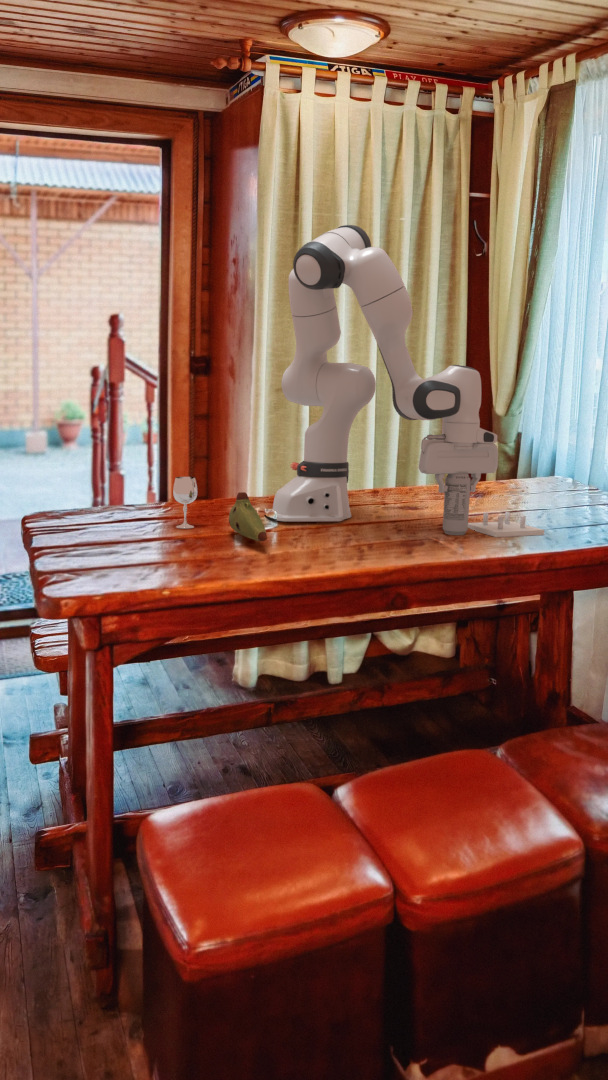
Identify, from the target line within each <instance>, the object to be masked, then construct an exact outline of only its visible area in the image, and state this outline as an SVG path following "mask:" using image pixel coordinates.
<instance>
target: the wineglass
mask: <svg viewBox="0 0 608 1080" xmlns="http://www.w3.org/2000/svg"><path fill="white" fill-rule="evenodd" d="M172 493H173V498H174V500H175V501H176V502H178V503H180V504H182V505H183V507H182V510H183V516H184V518H183V523H181V524H180V525H179V524H178V525H175V528H176V529H194V528H195V526H194V525H191V524H189V523H188V522H187V513H188V512H187V511H188V506H187V505H188V504H191V503H193V502H194V501H195V500H196V499H197V496H198V485H197V480H196V477H193V476H176V477H175V479H174V483H173V492H172Z"/></svg>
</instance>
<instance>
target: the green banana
mask: <svg viewBox="0 0 608 1080" xmlns="http://www.w3.org/2000/svg"><path fill="white" fill-rule="evenodd" d="M228 523H229V525H230V526H229V527H231V528H232V530H233V531H235V532H236V533H237V534H240V535H241V536H242V537H245V538H247V539H251V540H254V541H257V542H264V541H267V540H268V536H267V531H266V528H265V525H264V523H263V520H262V519H261V517H260V515H259V513H258V512H257V509H255V508H254V506H253V505H252V503H251V501H250V499H249V496H248V493H246V492H243V491H241V492H238V493H237V495H236V499H235V503H234V504H233V505H232V507H231V509H230V511H229V514H228Z"/></svg>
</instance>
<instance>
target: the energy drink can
mask: <svg viewBox="0 0 608 1080" xmlns="http://www.w3.org/2000/svg"><path fill="white" fill-rule="evenodd" d="M471 480H472V478H471V476H470V475H469V473H455V474H447V475H446V476H445V477H444V484H445V485H447V486H448V489H447V490H448V491H447V493H444V497H443V513H442V514H443V515H442V516H443V517H442V530H443V531H444V534H446V535H451V536H465V535H466V532H467V531H468V530H469V528H468V523H469V513H470V495H471V492H470V482H471Z"/></svg>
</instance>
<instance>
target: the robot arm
mask: <svg viewBox="0 0 608 1080" xmlns="http://www.w3.org/2000/svg"><path fill="white" fill-rule="evenodd" d="M292 267H293V268H292V269H291V271H290V272H289V274H288V285H287V286H288V297H289V298H288V299H289V300H288V301H289V308H290V312H291V317H292V318H291V319H292V324H293V329H294V336H295V353H294V357H293V360H292V362H291V364H290V365H289V366H288V367H287V368H285V371H284V372H283V375H282V377H281V391H282V393H283V396H284V397H285V398H286V400H287V401H289V402H290V403H291V402H292V403H294V404H298V405H301V406H306V407H323V410H322V414H321V416H320V417H319V419H318V420H317V421H315V422H313V423H312V424H310V425H309V426H308V427H307V428H306V430H305V431H304V443H303V444H304V447H303V450H304V452H303V459H304V460H302V461H301V462H300V463H298V462H295V461H293V462H291V464H290V469H291V470H292V471H296V476H294V477H293V478H291V480H290V481H288V482H287V483H286V484H284V485H283V486H282V487H281V488H279V489H277V491H276V492H275V494H274V499H273V504H272V510H274V511H276V512H277V520H276V521H279V522H341V521H344V520H347V519H350V518H351V517H352V512H351V508H350V502H349V493H348V483H349V475H350V474H349V473H350V470H349V469H350V468H349V466H350V464H349V462H348V450H349V448H348V447H349V437H350V432H351V427H352V426H353V422H354V420H355V419H356V417H357V416H358V414H359V412H360V411H361V410H362V409H363V408H364V407H365V406H366V405H368V404H369V403H370V402H371V401H372V399H373V398H374V395H375V392H376V389H377V386H376V385H377V383H376V377H375V376H374V373H373V372H372V370H371V368H369V367H368V366H366V365H365V366H364V365H360V364H357V363H353V362H330V361H329V360H328V355H327V354H328V351H329V350H331V349H333V347H335V345H336V344H338V342H339V340H340V338H341V334H342V330H341V325H340V321H339V320H340V319H339V312H338V308H337V303H336V297H335V289H339V288H340V287H341V285H346V286H348V287H349V288H350V289H351V290H352V291H353V293H354V296H355V298H356V300H357V302H358V304H359V307H360V310H361V312H362V314H363V317H364V318H365V320H366V323H367V324H368V327H369V328H370V330H371V333H372V334H373V337H374V339H375V341H376V344H377V347H378V350H379V354H380V356H381V358H382V362H383V363H384V366H385V369H386V371H387V374H388V376H389V377H388V378H389V379H390V382H391V390H392V405H393V407H394V410H395V412H396V413H397V414H398V415H399V416H400V417H401V418H403V419H405V420H408V421H419V420H420V421H435V420H438V419H441V420H442V422H441V423H442V425H441V434H427V435H426V436H424V437H423V439H421V443H420V450H421V451H420V455H419V462H418V470H419V471H420V473H422V474H426V475H434V479H435V481H436V483H437V485H438V493H440V494H443V493H447V491H448V490H447V489H448V486H447V485H445V481H444V479H445V477H446V476H445V475H446V474H447V475H448V474H455V473H468V474H470V478H471V481H470V493H475V492H476V491H477V489H476V488H477V485H478V483H479V481H480V480H481V476H482V474H495V473H496V471H497V470H498V467H499V449H498V446H497V444H495V443H497V442H498V434H496V433H494V432H492V431H489V430H486V429H483V428H482V427H480V426H481V424H480V422H481V420H480V413H479V412H480V408H481V405H482V379H481V375H480V374H481V373H480V372H479V371H478V369H475V368H473V367H470V366H467V365H459V364H451V365H449V366H448V367H447V368H445V369H444V370H442V371H441V372H439V373H436V374H434V375H432V376H429V377H427V378H422V377H421V376H420V375H418V373H417V371H416V369H415V366H414V364H413V361H412V358H411V356H410V352H409V350H408V348H407V344H406V332H407V330H408V327H409V326H410V323H411V322H412V318H413V314H414V311H413V308H412V307H413V305H412V301H411V298H410V295H409V292H408V289H407V288H406V286H405V284H404V281H403V279H402V277H401V275H400V273H399V271H398V269H397V268H396V266H395V264H394V262H393V260H392V259H391V257H390V256H389V255H388V254H387V252H386V251H385V250H384V249H383V248H381V247H378V246H372V243H371V240H370V236H369V235H368V234H367V231H365V230H364V229H363V228H362V227H360V226H358V225H354V224H344V225H340V226H338V227H336V228H333V229H330V230H329V231H326V232H323V233H322V234H320V235H318V236H317V237H316V238H314V239H312V240H311V241H309V242H307V243H305V244H303V246H302V247H300V248H299V249H298V251H297V252H296V254H295V255H294V258H293V262H292Z"/></svg>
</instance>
